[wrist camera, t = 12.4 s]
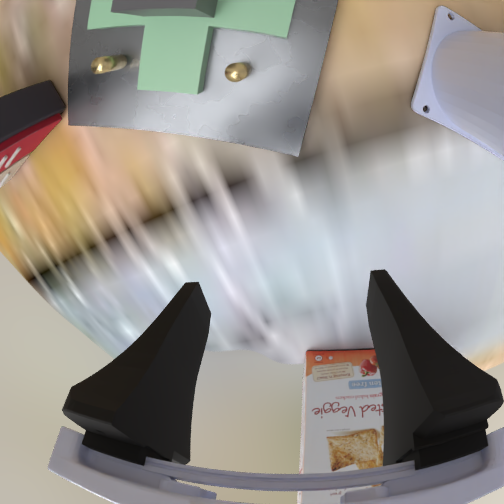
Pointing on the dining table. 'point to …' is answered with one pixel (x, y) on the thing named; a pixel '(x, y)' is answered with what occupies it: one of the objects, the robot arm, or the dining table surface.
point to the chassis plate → (205, 82)
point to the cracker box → (340, 418)
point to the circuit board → (186, 33)
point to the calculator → (26, 124)
